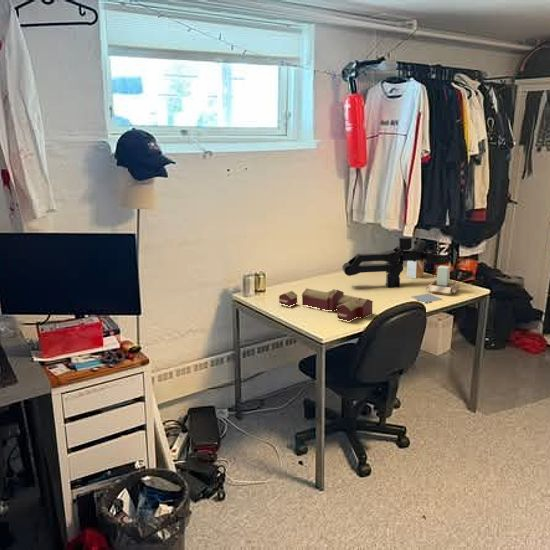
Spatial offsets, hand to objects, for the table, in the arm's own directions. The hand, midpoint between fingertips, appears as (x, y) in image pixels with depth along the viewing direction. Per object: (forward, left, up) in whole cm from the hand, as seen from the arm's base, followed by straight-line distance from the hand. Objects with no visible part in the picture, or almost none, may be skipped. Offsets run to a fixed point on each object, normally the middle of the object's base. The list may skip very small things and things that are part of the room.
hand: (439, 254), depth 293 cm
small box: (-7, +16, -17) cm, 24 cm away
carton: (-3, -16, -16) cm, 23 cm away
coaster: (-15, -26, -16) cm, 34 cm away
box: (-3, -16, -16) cm, 23 cm away
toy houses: (-69, -34, -17) cm, 79 cm away
